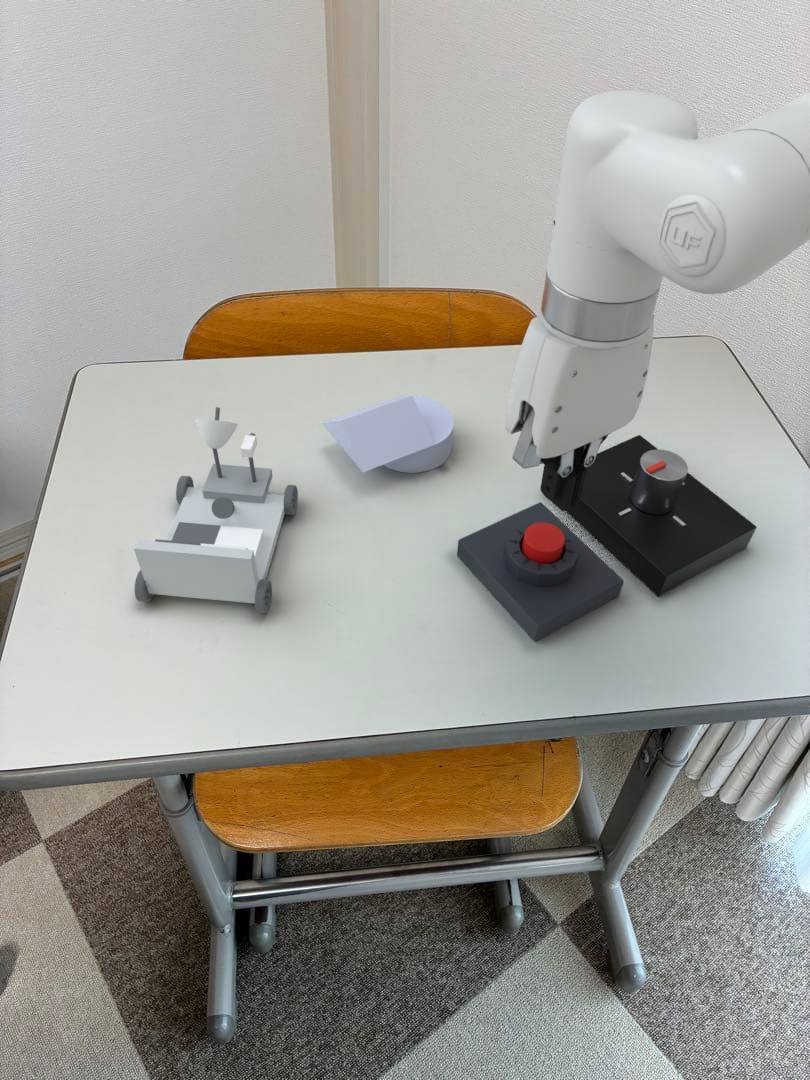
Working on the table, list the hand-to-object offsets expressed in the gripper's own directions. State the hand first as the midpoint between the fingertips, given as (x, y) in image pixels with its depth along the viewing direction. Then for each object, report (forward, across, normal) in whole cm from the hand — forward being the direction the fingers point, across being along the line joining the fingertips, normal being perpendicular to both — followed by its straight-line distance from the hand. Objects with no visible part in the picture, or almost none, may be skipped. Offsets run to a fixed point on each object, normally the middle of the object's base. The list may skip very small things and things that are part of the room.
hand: (559, 498), depth 67 cm
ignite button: (+7, 0, -1) cm, 7 cm away
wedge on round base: (+10, +2, -23) cm, 25 cm away
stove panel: (+11, -14, -1) cm, 17 cm away
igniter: (+10, 0, -1) cm, 11 cm away
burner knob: (+8, -14, -1) cm, 16 cm away
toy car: (+10, +23, -20) cm, 32 cm away
